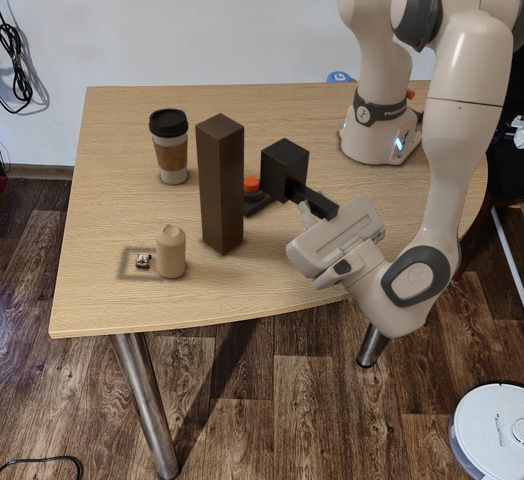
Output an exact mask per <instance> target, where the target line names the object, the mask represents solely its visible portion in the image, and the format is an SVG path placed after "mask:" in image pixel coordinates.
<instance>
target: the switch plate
mask: <svg viewBox="0 0 524 480" xmlns="http://www.w3.org/2000/svg"><path fill="white" fill-rule="evenodd" d="M258 180H259V189H258V190H257V191H256V192H246V191H244V217H245V218H249V217H251V216H252V215H254V214H256V213H257V212H259V211H260V210H262V209H264V208H265V207H266V206H268V205H270V204H271V203H274V201H277V200H276V199H274V198H273V197H271V196H269V195H268V194H266V193H265V192H263V191H261V190H260V178H258Z"/></svg>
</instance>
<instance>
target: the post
mask: <svg viewBox="0 0 524 480" xmlns="http://www.w3.org/2000/svg"><path fill="white" fill-rule="evenodd" d="M194 130H195V131H194V132H195V144H196V145H195V146H196V160H197V176H198V189H199V190H198V191H199V203H200V205H199V206H200V219H201V220H200V221H201V235H202V242H203V243H205V244H206V245H207V246H208V247H210V248H211V249H212V250H214V251H216V252H217V253H218V254H219V255H221V256H224V255H226V254H227V253H229V252H230V251H232V250H233V249H236V248H237V247H238V246H240V245H241V244H242V243H244V229H245V228H244V225H245V224H244V221H245V220H244V217H245V216H244V178H245V126H244V125H243V124H241V123H240V122H237V121H236V120H234V119H232V118H230V117H229V116H227V115H225V114H224V113H222V112H219V113H217V114H215V115H213V116H211V117H209V118H207V119H205V120H203V121H201V122H199V123H196V124H195V125H194Z"/></svg>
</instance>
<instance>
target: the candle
mask: <svg viewBox="0 0 524 480" xmlns="http://www.w3.org/2000/svg"><path fill="white" fill-rule="evenodd" d="M186 246H187V234H186V232H185V231H184V229H182V228H180V227H179V226H177V225H172V224H170V223H168V224H165V225H164V226H162V227H160V228H159V229H158V230H157V231H156V232H155V250H156V251H155V253H156V269H157V272H158V274H159V275H161V276H162V277H163V278H167V279H175V278H179V277H181V276H183V274H184V272H185V270H186V251H187V250H186Z"/></svg>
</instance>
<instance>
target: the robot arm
mask: <svg viewBox="0 0 524 480" xmlns="http://www.w3.org/2000/svg"><path fill="white" fill-rule="evenodd" d="M336 6H337V7H336V8H337V13H338V15H339V17H340V20H341V22H342V23H343V25H344V26H345V27H346V28H347V29H348V30H349V31H350V32H351V33H352V34H353V35H354V37H355V39H356V41H357V43H358V46H359V50H360V69H359V77H358V84H357V86H356V88H355V91H354V94H353V98H352V104H351V105H350V106H349V107H348V111H347V114H346V119H345V122H344V124H343V128H340V130H339V133H338V135H339V138H340V139H341V141H340V148H341V150H342V152H343V153H344V154H345V156H347V157H349V158H350V159H351V160H353V161H355V162H359V163H361V164H365V165H366V164H367V165H393V166H400V165H402V164H403V163H404V161H405V160H406V159H407V158H408V157H409V156H410V155H411V154H412V153H413V151H414V150H415V149H416V147H417V146H419V144H420V143H421V147H422V149H423V152H424V154H425V156H426V159H427V160H428V165H429V170H430V182H429V183H430V184H429V188H428V193H427V199H426V202H425V207H424V211H423V212H424V213H423V217H422V222H421V225H420V227H419V228H418V230H417V232H416V234H414V236H413V237H412V238H411V240H410V241H409V243H408V244H407V245H406V246H405V247H404V249H402V250H401V252H400V253H399V254H398V255H397V257H396V259H395V260H393V261H388V260H387V258H386V257H385V255H384V254H383V253H382V251H381V250H380V249H379V247H378V246H377V244H378V243H379V242H380V241H383V240H384V239H385V237H386V232H387V227H386V225H385V223H384V222H383V220H382V217H381V215H380V213H379V211H378V210H377V208H376V206H375V205H374V203H373V201H372V199H371V198H370V197H369V195H367V194H366V193H363V192H360V193H358V194H357V195H356V196H354V197H353V198H351V199H350V200H348V201H346V202H345V203H344V204H342V205H340V203H339V202H338V200H336V199H334V198H331V197H330V196H328V195H327V194H326V193H325V192H324V190H323V189H319V190H318V191H316V192H317V193H319V194H321V195H322V196H324V197H326V198H327V199H329V200H331V201H332V202H334V203H336V204H338V205H339V209H338V215H337V216H336V217H334V218H333V219H331V220H330V221H327V220H326V219H325V218H324V219H322V220H321V219H320V220H319V221H318V219H317V217H316V216H313V217H312V214H311V212H310V208H311V207H312V205H311V204H310V203H309V201H308V200H307V199H305V200H304V201H302V202H300V203H299V204H298V205H297V204H296V206H297V209H298V211H299V212H300V213H301V217H302V223H303V227H304V229H306V230H305V231H303V232H302V233H300V234H298V235H297V236H296V237H295V238H293V239H292V240H290V241H289V243H287V244H286V246H285V254H286V256H287V258H288V259H289V261H290V262H291V264H292V265H293V267H295V268H296V269H297V271H298V272H299V273H300V274H301V275H302V276H303V277H305V278H306V279H310V280H311V285H312V287H313V288H314V289H315V290H317V291H321V290H322V291H323V290H325V289H328V288H331V287H336V286H339V285H341V286H342V287H343V288H344V290H345V291H346V292H348V293H349V294H350V295H351V296H352V297H353V299H355V302H356V303H357V305H358V308H359V310H360V311H361V312H362V314H363V315H364V316H365V317H366V319H367V320H368V321H369V323H370V324H371V325H372V326H373V327H374V328H375V329H376V330H377V331H378V332H379V333H380V334H381V335H382V336H384V337H385V338H387V339H393V340H395V339H396V340H397V339H401V338H404V337H407V336H410V335H411V334H413V333H414V332H416V331H418V330H419V329H421V328H422V327H423V326H424V325H425V323H426V320H427V317H428V314H429V313H430V311H431V309H432V307H433V305H434V304H435V302H436V301H437V299H438V298H439V297H440V295H441V294H442V293H443V292H444V291H445V290H446V289H447V287H448V286H449V284H450V282H451V281H452V279H453V277H454V275H455V274H456V273H457V272H458V270H459V268H460V266H461V262H462V248H461V243H460V238H459V227H460V221H461V219H462V213H463V209H464V206H465V202H466V197H467V193H468V189H469V185H470V183H471V180H472V178H473V176H474V174H475V172H476V170H477V169H478V167H479V164H481V161H482V160H483V158H484V156H485V155H486V152H487V150H488V148H489V146H490V144H491V142H492V140H493V137H494V135H495V132H496V130H497V127H498V124H499V122H500V121H499V120H500V119H501V114H502V112H503V107H504V105H505V104H504V103H505V100H506V96H507V91H508V86H509V81H510V75H511V69H512V60H513V53H515V52H517V51H518V50H520V49H521V47H522V46H523V45H524V0H336ZM394 36H395V38H396V39H397V40H398V41H400V42H402V43H403V44H406V45H408V46H409V47H411V48H412V49H413V51H415V52H416V53H418V54H420V53H422V52H423V50H424V49H425V48H429V49H431V50H432V51H433V52H434V55H435V65H434V69H433V72H432V75H431V79H430V83H429V87H428V92H427V95H426V96H427V97H426V100H425V104H424V110H423V111H422V112H419V111H417V110H415V109H413V108H411V107H410V106H408V100H409V101H412V100H414V98H415V96H416V91H415V90H411V89H410V88H408V87H409V83H410V79H411V76H412V72H413V65H414V64H413V58H412V55H411V53H410V52H409V50H408V49H406V48H405V47H404V46H403V45H401V44H399V43H398V42H396V41H394V40H393V39H394ZM419 123H422V125H421V131H420V130H419V128H417V126H418V125H419Z"/></svg>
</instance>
